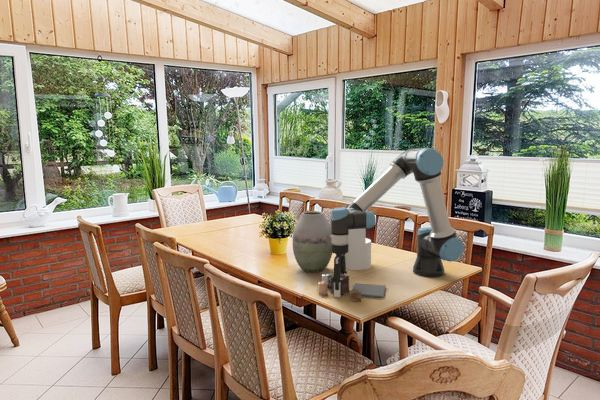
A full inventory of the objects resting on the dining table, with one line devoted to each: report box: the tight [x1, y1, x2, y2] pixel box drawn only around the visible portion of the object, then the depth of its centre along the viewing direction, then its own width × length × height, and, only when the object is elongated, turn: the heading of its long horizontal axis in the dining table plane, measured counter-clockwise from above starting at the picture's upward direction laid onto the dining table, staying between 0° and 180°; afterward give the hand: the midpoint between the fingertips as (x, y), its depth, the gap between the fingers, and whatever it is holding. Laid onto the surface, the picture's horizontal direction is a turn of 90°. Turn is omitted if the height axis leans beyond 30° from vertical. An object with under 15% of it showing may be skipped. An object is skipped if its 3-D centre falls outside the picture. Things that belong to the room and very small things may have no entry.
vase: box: [292, 210, 333, 274], centre depth 219 cm, size 21×21×30 cm
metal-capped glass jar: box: [321, 272, 333, 290], centre depth 194 cm, size 5×5×6 cm
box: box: [330, 275, 350, 297], centre depth 186 cm, size 6×6×7 cm
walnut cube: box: [349, 289, 362, 303], centre depth 177 cm, size 4×4×4 cm
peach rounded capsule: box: [317, 280, 328, 296], centre depth 185 cm, size 4×4×5 cm
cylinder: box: [345, 229, 372, 271], centre depth 225 cm, size 17×17×28 cm
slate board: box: [351, 282, 387, 300], centre depth 187 cm, size 14×14×1 cm
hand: (339, 292), depth 186 cm, fingers open, 11 cm apart
